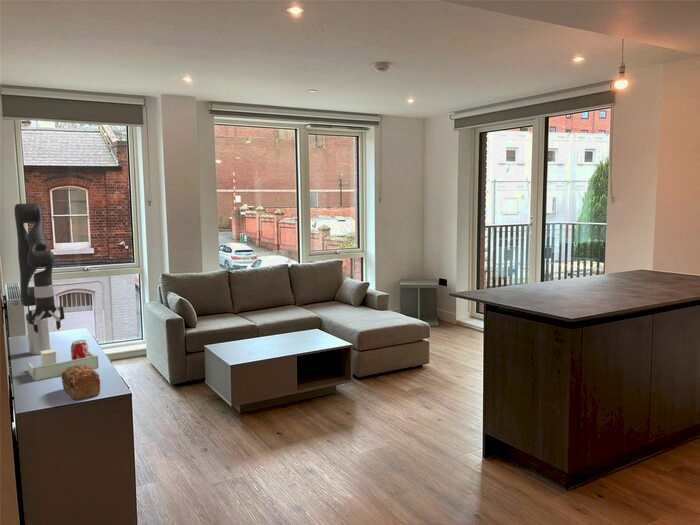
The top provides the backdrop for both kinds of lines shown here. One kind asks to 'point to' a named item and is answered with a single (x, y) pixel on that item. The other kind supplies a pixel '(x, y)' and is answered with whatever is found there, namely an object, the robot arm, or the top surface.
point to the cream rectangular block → (48, 357)
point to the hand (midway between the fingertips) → (47, 330)
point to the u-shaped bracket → (61, 367)
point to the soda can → (79, 349)
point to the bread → (81, 382)
